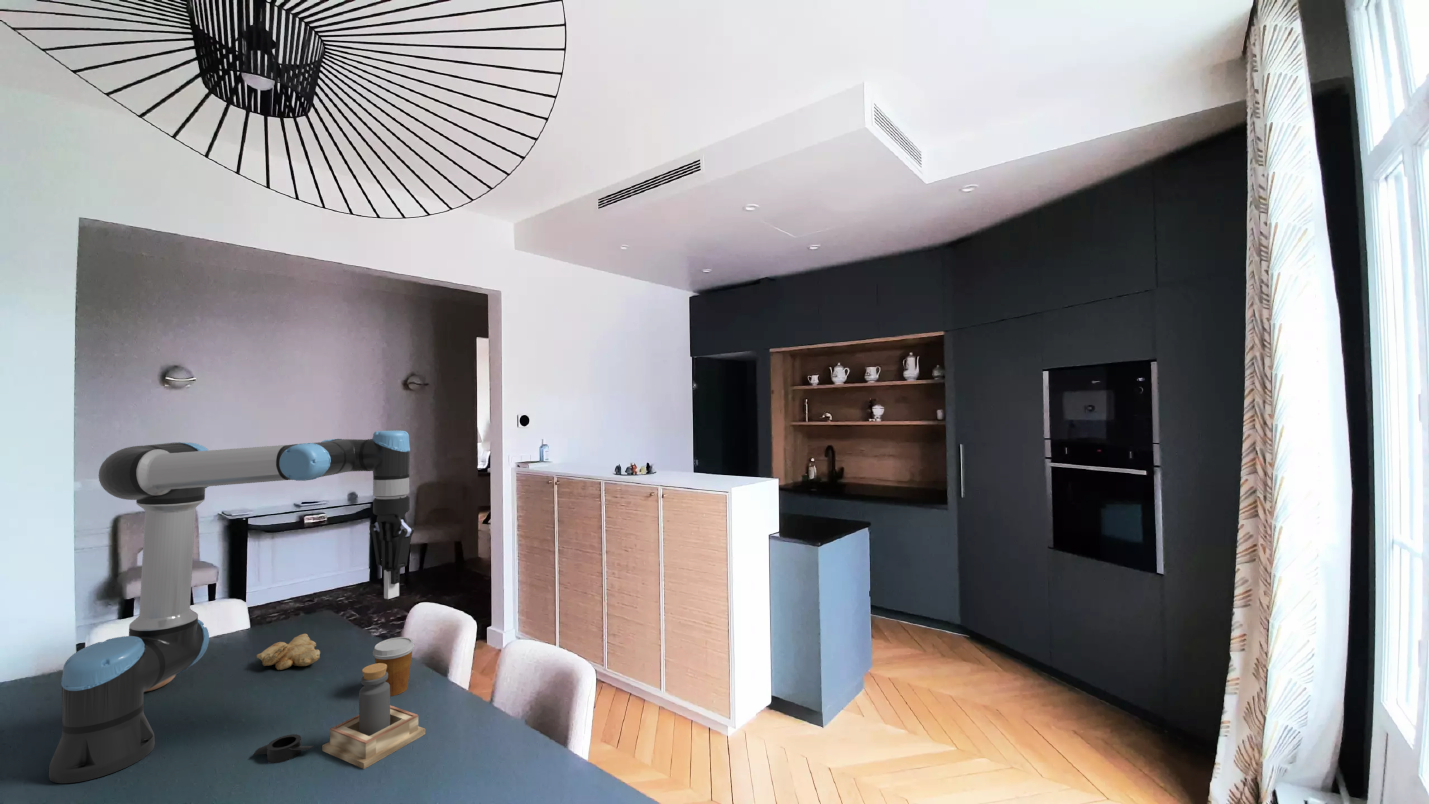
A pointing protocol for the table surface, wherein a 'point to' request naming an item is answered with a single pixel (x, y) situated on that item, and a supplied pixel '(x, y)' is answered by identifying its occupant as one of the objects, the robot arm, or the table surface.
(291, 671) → the table surface
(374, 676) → the bottle
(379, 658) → the disposable coffee cup
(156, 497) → the robot arm
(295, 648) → the ginger root
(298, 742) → the dark winged oval cup
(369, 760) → the holder block
